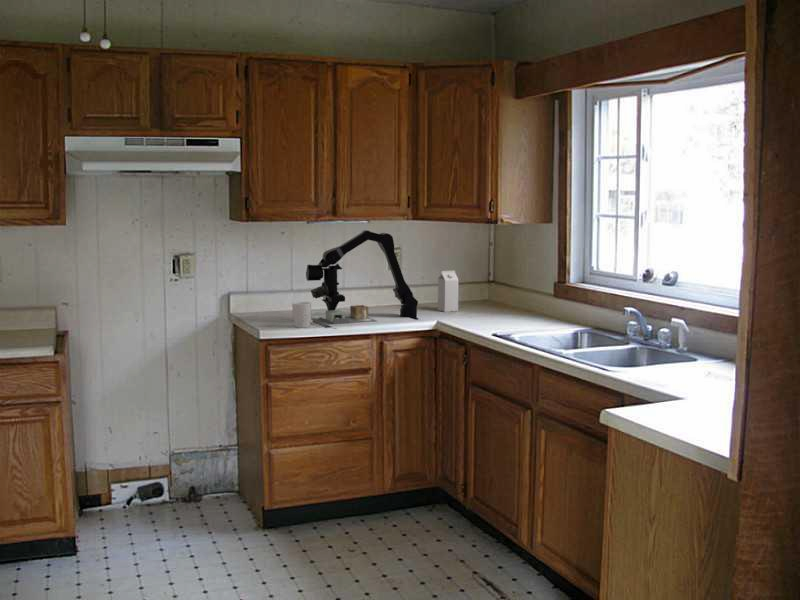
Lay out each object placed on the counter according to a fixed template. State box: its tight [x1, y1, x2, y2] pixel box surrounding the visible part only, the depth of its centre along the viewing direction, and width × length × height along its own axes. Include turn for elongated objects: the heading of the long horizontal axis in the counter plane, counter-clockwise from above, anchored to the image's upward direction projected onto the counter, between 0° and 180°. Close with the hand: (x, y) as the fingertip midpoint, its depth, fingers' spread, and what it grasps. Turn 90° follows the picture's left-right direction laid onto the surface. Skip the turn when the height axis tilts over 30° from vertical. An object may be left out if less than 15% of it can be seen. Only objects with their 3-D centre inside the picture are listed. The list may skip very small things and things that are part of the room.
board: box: [312, 310, 377, 329], centre depth 382 cm, size 24×16×5 cm, turn 116°
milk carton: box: [437, 270, 459, 313], centre depth 418 cm, size 7×7×19 cm
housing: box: [325, 309, 346, 322], centre depth 379 cm, size 6×7×4 cm
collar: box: [349, 304, 369, 319], centre depth 389 cm, size 6×6×5 cm
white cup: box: [291, 301, 312, 329], centre depth 372 cm, size 8×8×10 cm
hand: (330, 316), depth 383 cm, fingers closed
